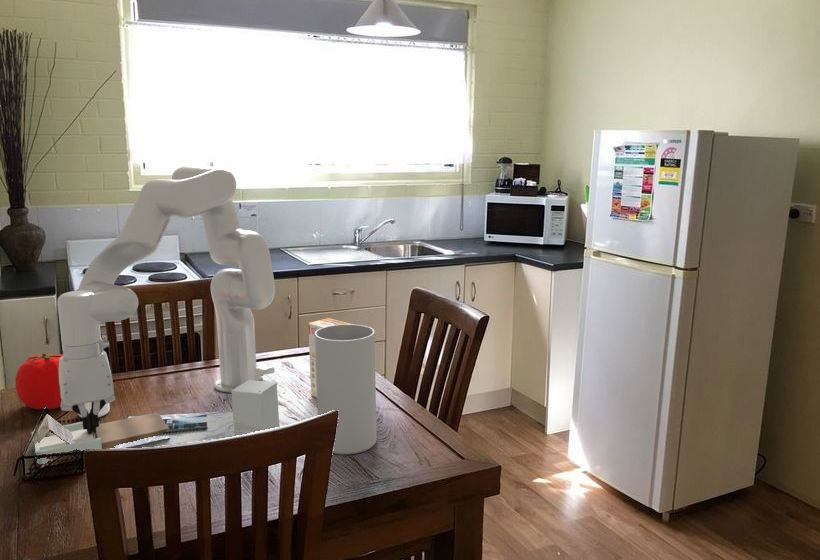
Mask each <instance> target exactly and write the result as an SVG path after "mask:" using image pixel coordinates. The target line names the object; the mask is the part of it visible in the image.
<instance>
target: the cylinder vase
mask: <svg viewBox="0 0 820 560" xmlns="http://www.w3.org/2000/svg"><path fill="white" fill-rule="evenodd" d="M375 333H376V332H375V329H374V328H372V327H371V326H368V325H362V324H354V323H349V324H341V325H332V326H327V327H323V328H320V329H318V330H317V331H316V332H315V354H316V381H317V397H316V403H317V416H318V415H321V414H324V413H327V412H329V411H332V410H339V419H338V425H337V432H336V440H335V445H334V451H333V453H332V454H334V455H353V454H354V455H355V454H360V453H363V452H366V451H368V450H370V449H371V448H373V446H374V445H375V444H376V443H377V437H378V436H377V434H378V433H377V390H376V388H377V387H376V337H375V335H376V334H375Z"/></svg>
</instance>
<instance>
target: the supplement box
mask: <svg viewBox="0 0 820 560" xmlns="http://www.w3.org/2000/svg"><path fill="white" fill-rule="evenodd" d="M278 395H279V394H278V383H277V382H275V381H274V382H273V381H264V380H263V381H256V380H248V381H246V382H244V383H243V384H241V385H240V386H238V387H236V388H235V389H233V390H232V391H231V404H232V417H233V419H232V420H233V433H234V437H235V436H236V435H242V434H247V433H250V432H255V431H260V430H265V429H270V428H275V427H279V428H280V413H279V398H278Z"/></svg>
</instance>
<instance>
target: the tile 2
mask: <svg viewBox="0 0 820 560" xmlns="http://www.w3.org/2000/svg"><path fill="white" fill-rule="evenodd" d="M71 433H72V435H73V438H72V441H75V442H77V443H78V442H82V441H87V440H92V439H94V438H93V434H92V433H91V434H88V432H87V429H86V430H84V429H82V430H77V431H72V432H71Z"/></svg>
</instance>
